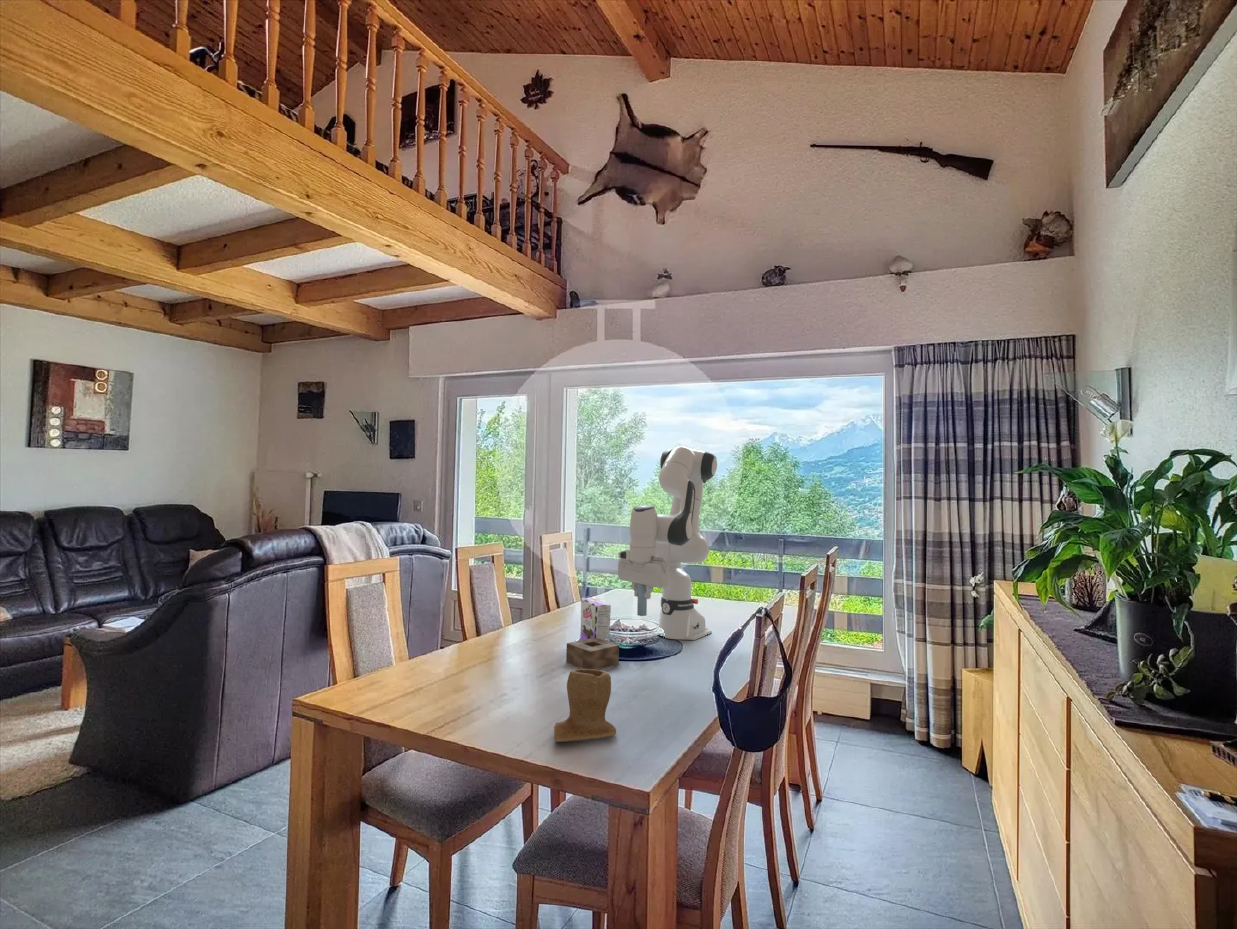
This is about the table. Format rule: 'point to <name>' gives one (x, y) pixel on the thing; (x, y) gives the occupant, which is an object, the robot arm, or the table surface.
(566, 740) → the tan suede boot
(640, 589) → the peg
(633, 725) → the table surface
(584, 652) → the socket block
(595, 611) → the candy box
